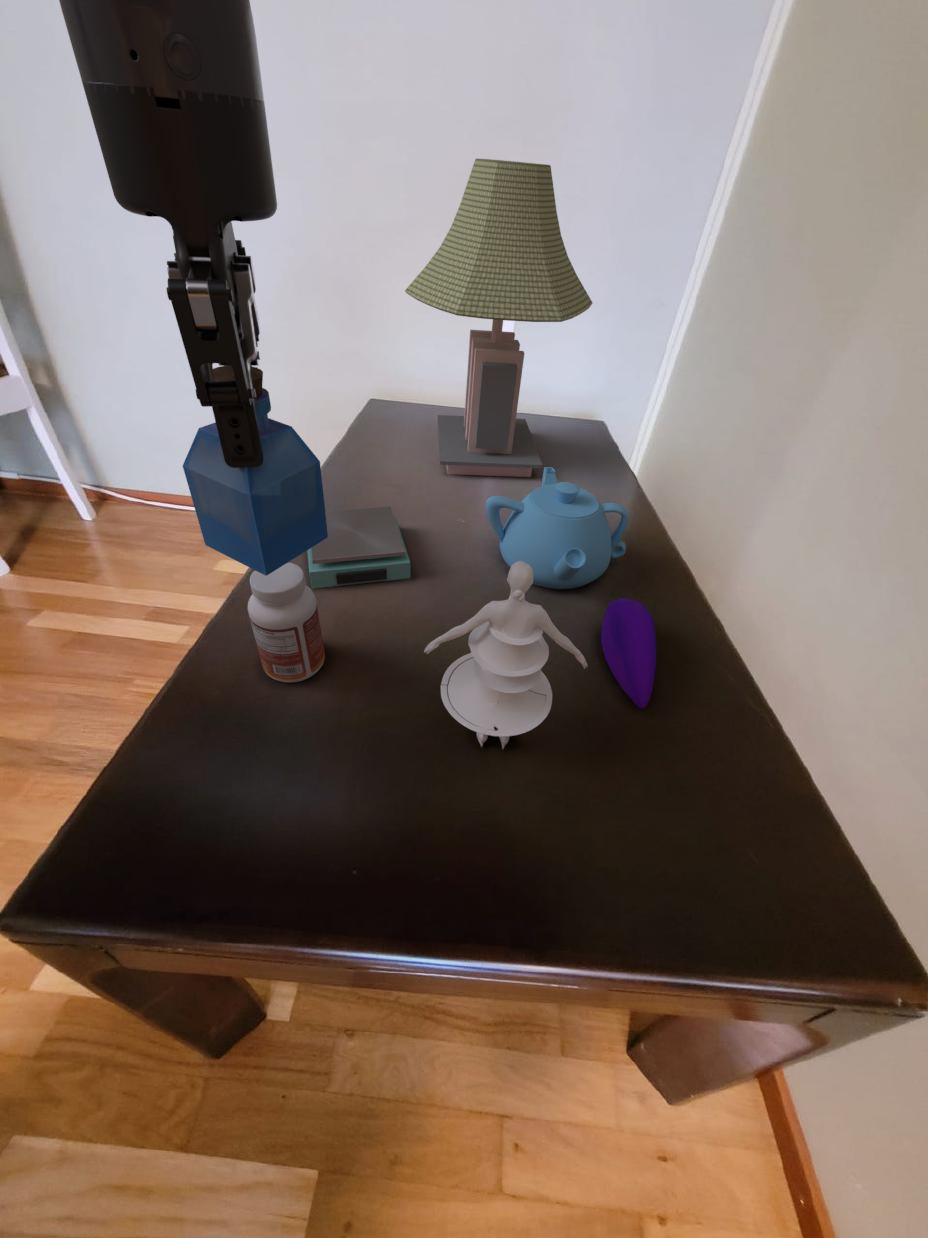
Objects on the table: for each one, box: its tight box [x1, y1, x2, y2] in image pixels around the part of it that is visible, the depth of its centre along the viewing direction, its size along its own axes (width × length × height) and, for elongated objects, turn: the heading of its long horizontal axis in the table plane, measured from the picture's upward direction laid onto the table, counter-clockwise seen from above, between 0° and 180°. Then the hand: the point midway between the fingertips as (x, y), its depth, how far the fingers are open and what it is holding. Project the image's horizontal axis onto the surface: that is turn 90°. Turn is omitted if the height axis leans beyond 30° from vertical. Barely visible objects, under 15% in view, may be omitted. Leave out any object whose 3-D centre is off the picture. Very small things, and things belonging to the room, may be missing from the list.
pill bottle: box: [247, 561, 326, 683], centre depth 52 cm, size 6×6×11 cm
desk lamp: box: [404, 158, 593, 478], centre depth 83 cm, size 26×28×40 cm
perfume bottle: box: [182, 365, 328, 576], centre depth 36 cm, size 6×6×12 cm
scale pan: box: [311, 506, 406, 564], centre depth 68 cm, size 11×11×1 cm
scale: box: [306, 512, 411, 590], centre depth 69 cm, size 12×12×3 cm
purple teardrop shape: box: [600, 597, 657, 709], centre depth 57 cm, size 5×5×15 cm
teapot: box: [485, 466, 630, 590], centre depth 68 cm, size 15×17×11 cm
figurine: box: [423, 561, 588, 750], centre depth 44 cm, size 13×10×20 cm
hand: (248, 442), depth 35 cm, fingers closed on perfume bottle, 5 cm apart
